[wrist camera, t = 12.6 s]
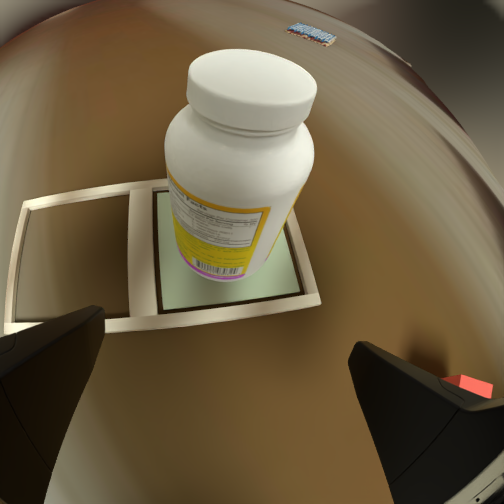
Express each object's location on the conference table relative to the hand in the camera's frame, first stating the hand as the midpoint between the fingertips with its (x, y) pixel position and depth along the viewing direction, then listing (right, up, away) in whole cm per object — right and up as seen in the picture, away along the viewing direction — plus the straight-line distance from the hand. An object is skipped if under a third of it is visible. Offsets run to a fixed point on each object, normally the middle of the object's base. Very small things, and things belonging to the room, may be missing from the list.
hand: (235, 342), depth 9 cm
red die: (+15, -10, +7) cm, 19 cm away
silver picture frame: (-7, +3, +10) cm, 13 cm away
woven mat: (+14, +53, +39) cm, 67 cm away
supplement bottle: (-2, +4, +11) cm, 12 cm away
